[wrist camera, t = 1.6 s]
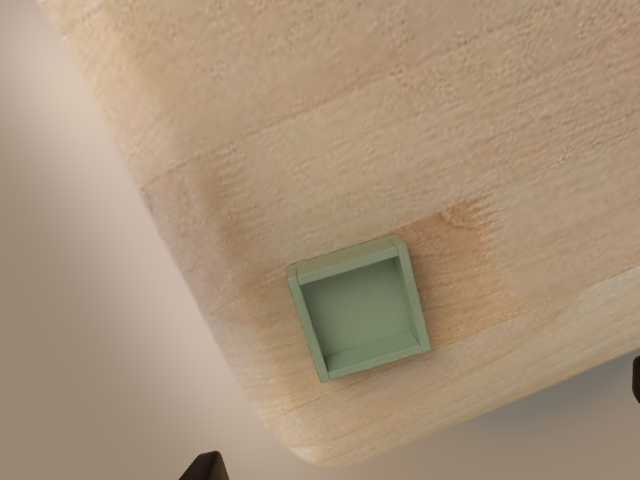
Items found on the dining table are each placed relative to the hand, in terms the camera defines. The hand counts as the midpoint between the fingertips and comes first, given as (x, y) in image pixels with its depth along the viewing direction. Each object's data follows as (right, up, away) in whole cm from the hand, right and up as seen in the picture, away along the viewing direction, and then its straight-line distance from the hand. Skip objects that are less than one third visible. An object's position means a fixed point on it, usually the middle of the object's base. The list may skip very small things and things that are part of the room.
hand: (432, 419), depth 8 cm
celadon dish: (0, +1, +13) cm, 13 cm away
